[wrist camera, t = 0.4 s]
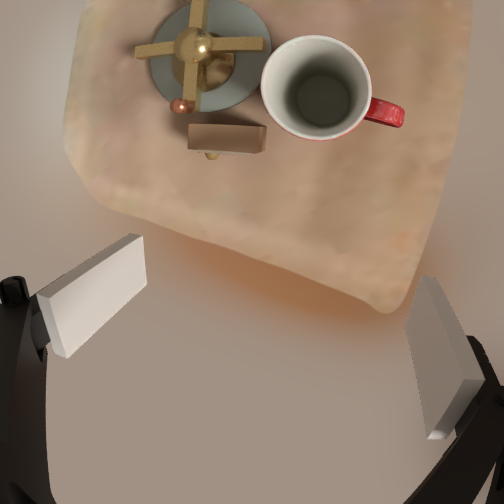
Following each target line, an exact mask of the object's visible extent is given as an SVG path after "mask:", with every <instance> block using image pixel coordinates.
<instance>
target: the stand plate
mask: <svg viewBox="0 0 504 504" xmlns="http://www.w3.org/2000/svg"><path fill="white" fill-rule="evenodd" d="M190 10H191V3H190V4H187V5H186V6H184V7H182V8H180V9H179V10H178V11H176V12H175V13H174V14H173V15H171V16H170V17H169V18H168V19H167V21H166V22H165V23H164V24H163V25H162V27H161V28H160V30H159V32H158V33H157V35H156V37H155V40H154V42H153V44H154V43H162V42H170V41H175V39H176V37H177V36H178V35H179V34H180V33H181V32H182V31H183V30H185V29H187V28H189V19H190ZM206 32H212V33H216V34H218V35H220V36H222V37H264V38H265V40H266V51H265V53H235V56H236V64H235V68H234V71H233V73H232V75H231V77H230V78H229V80H228V81H227V82H226V83H225V84H224V85H222V86H221V87H220V88H218V89H216V90H214V91H211V92H205V93H201V108H200V111H195V112H216V111H222V110H225V109H228V108H231V107H233V106H235V105H237V104H239V103H241V102H242V101H244V100H245V99H246V98H248V97H249V96H250V95H251V94H252V93H253V92H254V91H255V90H256V89H257V88H258V87H259V85H260V84H261V76H262V71H263V68H264V66H265V64H266V62H267V60H268V58H269V57H270V56H271V54H272V43H271V38H270V34H269V31H268V29H267V27H266V25H265V24H264V22H263V21H262V20H261V18H260V17H259V16H258V15H257V14H256V13H255V12H254V10H252V9H251V8H250V7H248V6H247V5H245V4H243V3H241V2H239V1H236V0H210V2H209V11H208V21H207V31H206ZM173 57H174V56H169V57H159V58H151V59H150V68H151V74H152V78H153V80H154V83H155V85H156V87H157V88H158V90H159V91H160V93H161V94H162V95H163V96H164V97H165V98H166V99H167V100H168V101H170V102H171V101H172V100H173V99H176V98H179V99H183V87H182V86H181V85H180V84H179V83H178V82H177V81H176V79H175V77H174V74H173V70H172V61H173Z"/></svg>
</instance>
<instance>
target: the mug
mask: <svg viewBox="0 0 504 504" xmlns="http://www.w3.org/2000/svg"><path fill="white" fill-rule="evenodd" d="M260 87H261V96H262V100H263V103H264V105H265V108H266V110H267V112H268V113H269V114H270V116H271V117H272V119H273V120H274V121H275V122H276V123H277V124H278V125H279V126H280V127H281V128H282V129H284V130H285V131H287V132H289V133H290V134H292V135H294V136H297V137H299V138H302V139H306V140H312V141H326V140H332V139H335V138H339V137H341V136H343V135H345V134H347V133H349V132H350V131H352V130H353V129H354V128H355V127H356V126H358V124H359V123H360V122H361V121H362V120H363V119H365V120H369V121H373V122H376V123H380V124H384V125H388V126H392V127H396V128H399V127H401V126H402V124H403V121H404V115H405V112H404V109H403V108H401V107H400V106H398V105H395V104H393V103H390V102H387V101H384V100H380V99H376V98H373V97H372V84H371V78H370V75H369V72H368V69H367V67H366V65H365V63H364V62H363V60H362V59H361V57H360V56H359V55H358V54H357V53H356V52H355V51H354V50H353V49H352V48H351V47H349V46H348V45H347V44H345V43H343V42H342V41H339V40H337V39H335V38H332V37H329V36H324V35H304V36H299V37H296V38H292V39H290V40H288V41H287V42H285V43H283V44H282V45H281V46H279V47H278V48H277V49H276V50H275V51H274V52H273V53H272V54H271V56H270V57H269V58H268V60H267V62H266V64H265V66H264V68H263V71H262V76H261V84H260Z"/></svg>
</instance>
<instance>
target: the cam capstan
mask: <svg viewBox="0 0 504 504" xmlns="http://www.w3.org/2000/svg"><path fill="white" fill-rule="evenodd" d="M209 2H210V0H192V2H191V10H190V19H189V28H187V29H185V30H183V31H182V32H181V33H180V34H179V35H178V36H177V37H176V39H175V41H170V42H162V43H154V44H147V45H141V46H135V54H134V58H136V59H140V60H143V59H151V58H159V57H169V56H174V57H173V61H172V70H173V74H174V77H175V79H176V81H177V82H178V83H179V84H180V85H181V86H182V87H183V99H179V98H176V99H173V100H172V101H171V103H170V109H171V111H172V112H174V113H192V112H193V111H200V108H201V93H205V92H211V91H214V90H216V89H218V88H220V87H221V86H222V85H224V84H225V83H226V82H227V81H228V80H229V78H230V77H231V75H232V73H233V71H234V68H235V64H236V56H235V53H265V51H266V40H265V38H264V37H222V36H220V35H218V34H216V33H212V32H206V31H207V21H208V11H209Z"/></svg>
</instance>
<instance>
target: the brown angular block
mask: <svg viewBox="0 0 504 504" xmlns="http://www.w3.org/2000/svg"><path fill="white" fill-rule="evenodd" d="M266 128H267V127H260V126H246V125H227V124H189V128H188V149H195V150H198V151H197V152H198V153H205V155H206V157H207V158H208V159H209V160H215V159H217V158H218V156H219V154H228V155H241V156H249V155H251V154H252V153H253V154H256V153H259V152H263V151H265V141H266Z"/></svg>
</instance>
